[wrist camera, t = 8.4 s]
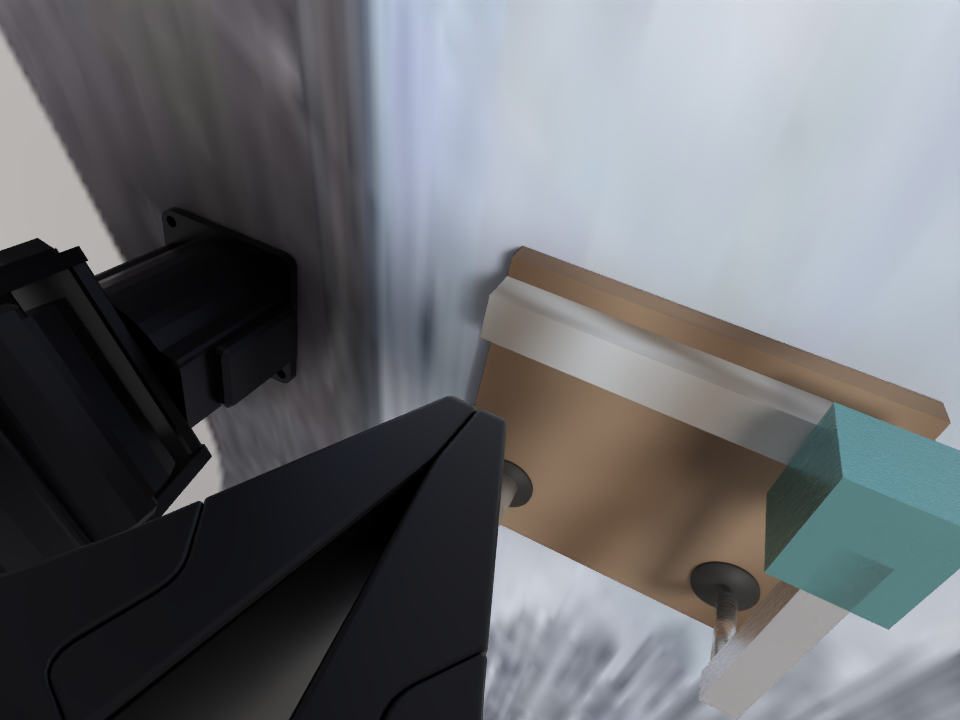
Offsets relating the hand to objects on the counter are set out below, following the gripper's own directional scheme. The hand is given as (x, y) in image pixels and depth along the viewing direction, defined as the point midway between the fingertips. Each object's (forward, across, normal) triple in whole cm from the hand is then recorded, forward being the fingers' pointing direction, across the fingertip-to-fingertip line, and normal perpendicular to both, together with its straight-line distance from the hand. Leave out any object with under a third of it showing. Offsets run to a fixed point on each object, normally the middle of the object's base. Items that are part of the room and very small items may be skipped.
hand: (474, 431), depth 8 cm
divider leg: (+10, -8, +8) cm, 15 cm away
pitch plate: (+12, -4, +9) cm, 15 cm away
